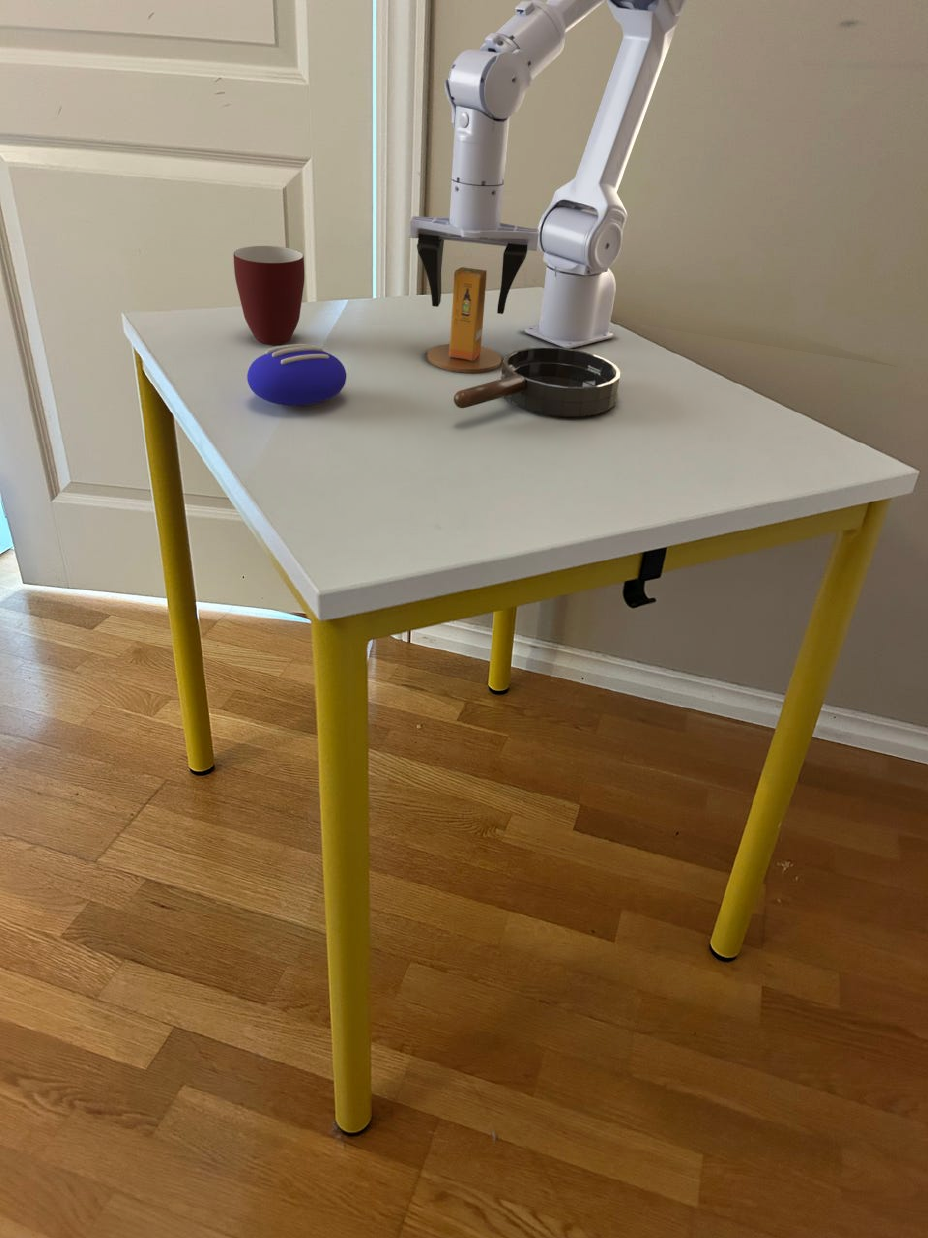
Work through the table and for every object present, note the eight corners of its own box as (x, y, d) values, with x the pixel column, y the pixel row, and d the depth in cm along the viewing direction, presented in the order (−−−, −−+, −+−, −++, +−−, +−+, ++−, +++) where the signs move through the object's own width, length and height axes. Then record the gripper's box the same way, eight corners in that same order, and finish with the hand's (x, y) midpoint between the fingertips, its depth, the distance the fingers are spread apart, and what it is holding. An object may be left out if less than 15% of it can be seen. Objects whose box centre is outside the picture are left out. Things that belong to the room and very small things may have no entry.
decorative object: (326, 318, 95) (361, 361, 89) (326, 367, 99) (359, 412, 93) (229, 329, 91) (258, 376, 85) (234, 381, 95) (262, 428, 89)
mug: (249, 321, 113) (243, 238, 107) (312, 325, 114) (310, 243, 108) (233, 348, 105) (226, 260, 99) (302, 352, 105) (299, 265, 99)
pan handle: (516, 387, 96) (518, 371, 94) (528, 392, 95) (530, 376, 93) (449, 406, 90) (450, 389, 89) (461, 412, 89) (462, 395, 88)
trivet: (466, 342, 113) (466, 338, 112) (516, 364, 107) (516, 360, 107) (412, 355, 107) (412, 351, 107) (462, 378, 102) (462, 374, 102)
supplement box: (482, 353, 108) (489, 269, 102) (473, 362, 105) (480, 275, 100) (456, 349, 109) (462, 264, 103) (447, 357, 106) (452, 271, 100)
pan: (553, 368, 107) (557, 339, 105) (637, 403, 100) (643, 373, 98) (476, 389, 100) (479, 359, 98) (561, 429, 92) (566, 397, 90)
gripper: (405, 180, 93) (401, 310, 101) (542, 194, 92) (527, 324, 100) (416, 169, 99) (412, 293, 107) (545, 182, 98) (531, 306, 106)
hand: (468, 307), depth 104 cm, fingers open, 7 cm apart
